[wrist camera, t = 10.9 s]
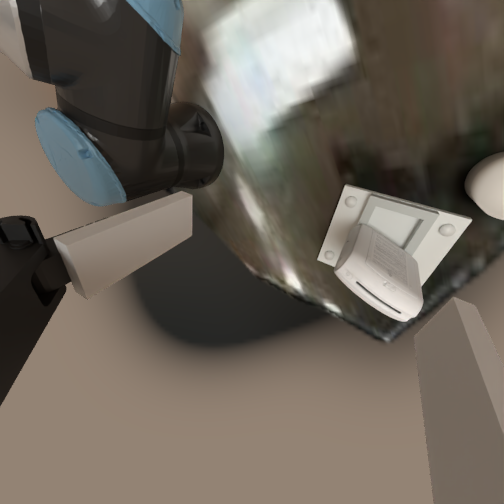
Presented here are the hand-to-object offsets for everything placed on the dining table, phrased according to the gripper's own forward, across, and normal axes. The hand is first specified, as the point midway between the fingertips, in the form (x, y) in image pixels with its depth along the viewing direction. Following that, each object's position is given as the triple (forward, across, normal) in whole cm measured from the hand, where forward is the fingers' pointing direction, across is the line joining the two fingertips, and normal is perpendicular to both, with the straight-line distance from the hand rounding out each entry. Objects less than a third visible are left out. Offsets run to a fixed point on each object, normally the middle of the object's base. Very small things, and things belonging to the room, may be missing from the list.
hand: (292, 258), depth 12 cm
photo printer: (+26, +8, -10) cm, 28 cm away
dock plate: (+28, +8, -9) cm, 30 cm away
